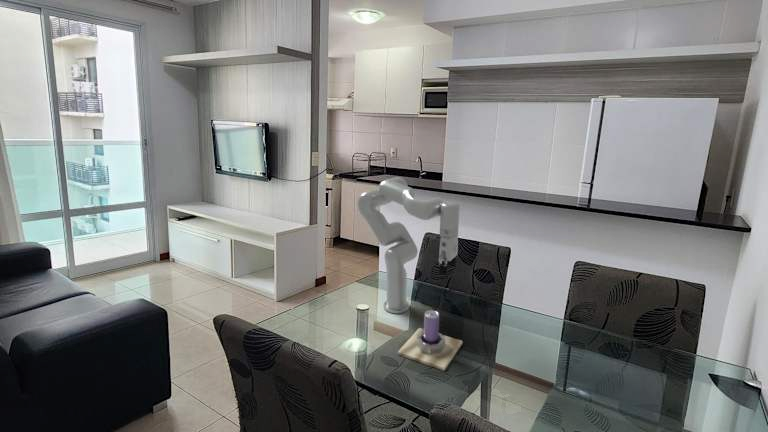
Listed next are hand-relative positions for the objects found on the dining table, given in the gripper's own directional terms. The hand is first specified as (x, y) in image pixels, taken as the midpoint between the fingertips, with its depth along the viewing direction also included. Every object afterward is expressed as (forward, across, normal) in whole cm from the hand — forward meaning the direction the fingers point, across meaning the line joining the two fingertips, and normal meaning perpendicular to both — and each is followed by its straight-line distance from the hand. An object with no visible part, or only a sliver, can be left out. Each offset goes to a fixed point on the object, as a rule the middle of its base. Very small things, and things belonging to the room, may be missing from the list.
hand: (447, 269), depth 175 cm
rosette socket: (+28, -17, -1) cm, 33 cm away
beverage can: (+27, -17, -1) cm, 32 cm away
